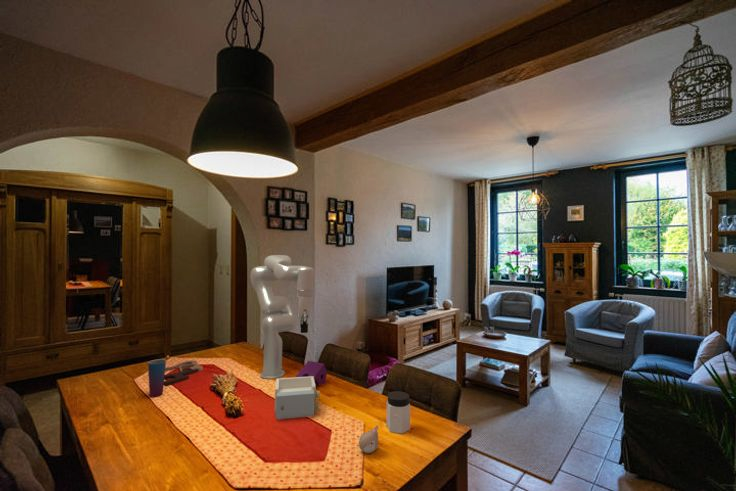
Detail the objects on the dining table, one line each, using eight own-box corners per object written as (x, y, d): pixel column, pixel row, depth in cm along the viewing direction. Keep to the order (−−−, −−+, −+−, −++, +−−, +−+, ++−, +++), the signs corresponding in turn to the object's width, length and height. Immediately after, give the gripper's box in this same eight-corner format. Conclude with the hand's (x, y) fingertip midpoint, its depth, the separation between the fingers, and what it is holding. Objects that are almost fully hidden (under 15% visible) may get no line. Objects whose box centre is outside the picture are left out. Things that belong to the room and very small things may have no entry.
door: (276, 415, 135) (276, 392, 135) (313, 412, 138) (313, 389, 138) (275, 421, 130) (276, 397, 130) (314, 417, 134) (314, 394, 134)
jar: (383, 431, 124) (384, 398, 124) (389, 420, 131) (389, 389, 132) (407, 435, 121) (408, 401, 121) (411, 424, 129) (412, 392, 129)
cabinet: (275, 401, 147) (276, 378, 147) (316, 398, 151) (317, 375, 151) (274, 416, 133) (275, 391, 134) (319, 412, 137) (320, 387, 138)
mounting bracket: (307, 405, 157) (328, 377, 172) (303, 391, 154) (324, 363, 169) (291, 401, 161) (312, 373, 177) (286, 387, 158) (308, 360, 173)
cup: (143, 396, 150) (144, 362, 150) (158, 391, 156) (159, 358, 157) (154, 399, 147) (155, 364, 148) (168, 393, 154) (169, 360, 154)
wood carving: (165, 387, 162) (214, 374, 180) (165, 383, 162) (214, 370, 180) (147, 373, 180) (193, 363, 198) (147, 369, 180) (193, 359, 198)
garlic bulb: (376, 457, 107) (377, 432, 108) (357, 455, 108) (357, 430, 109) (379, 446, 114) (379, 422, 114) (360, 444, 115) (361, 420, 115)
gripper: (297, 291, 166) (295, 325, 166) (297, 296, 149) (295, 335, 149) (312, 291, 168) (311, 325, 167) (314, 296, 151) (312, 334, 150)
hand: (303, 330), depth 158 cm, fingers open, 9 cm apart
